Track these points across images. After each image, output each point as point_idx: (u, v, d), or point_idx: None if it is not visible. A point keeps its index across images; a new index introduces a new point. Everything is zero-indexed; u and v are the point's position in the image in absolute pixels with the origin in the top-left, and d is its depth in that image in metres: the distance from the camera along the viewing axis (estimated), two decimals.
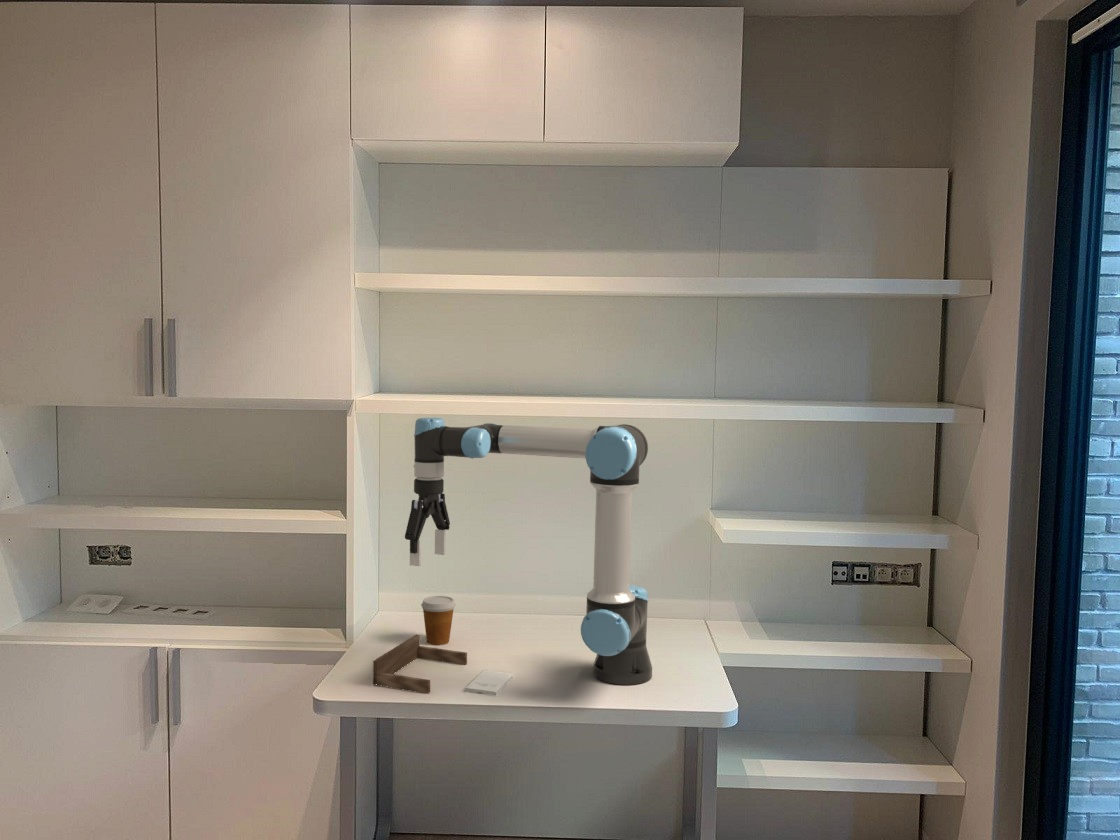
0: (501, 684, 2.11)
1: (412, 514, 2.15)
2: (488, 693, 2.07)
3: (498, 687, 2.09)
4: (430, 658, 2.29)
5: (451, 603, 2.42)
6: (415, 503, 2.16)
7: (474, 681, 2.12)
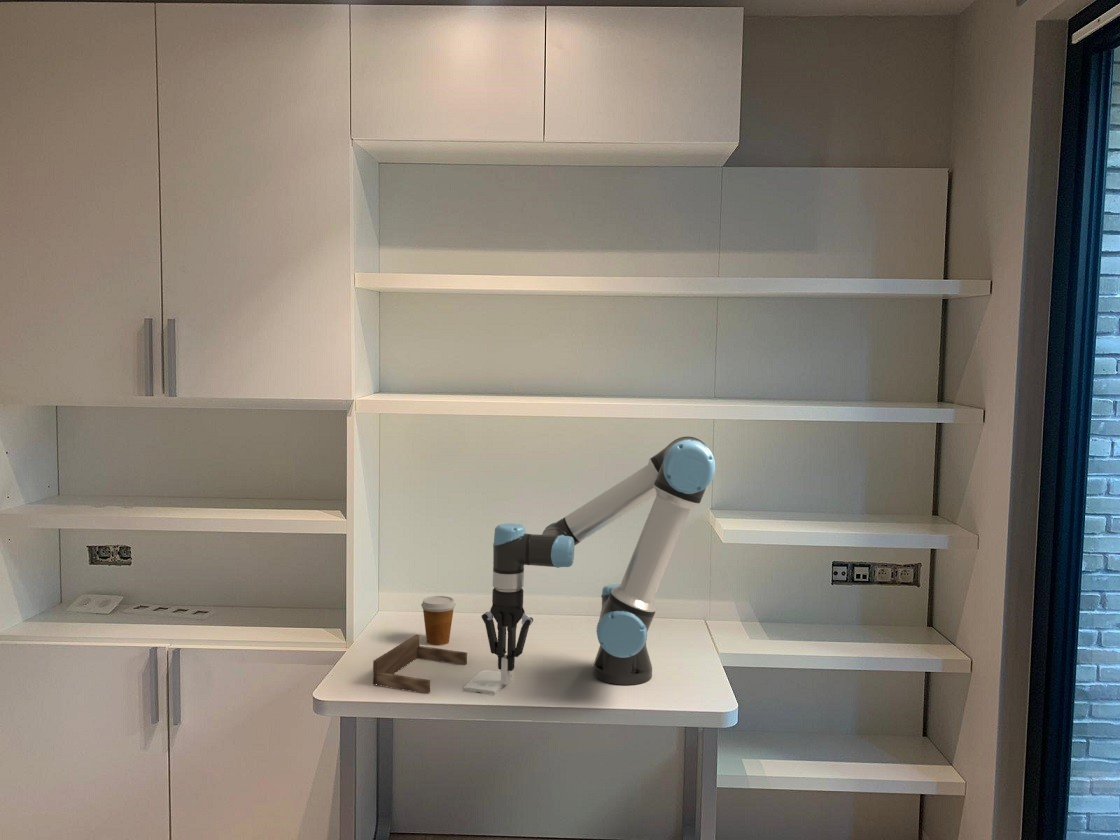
0: (499, 683, 2.11)
1: None
2: (486, 692, 2.07)
3: (496, 686, 2.09)
4: (430, 658, 2.29)
5: (451, 603, 2.42)
6: None
7: (472, 680, 2.13)
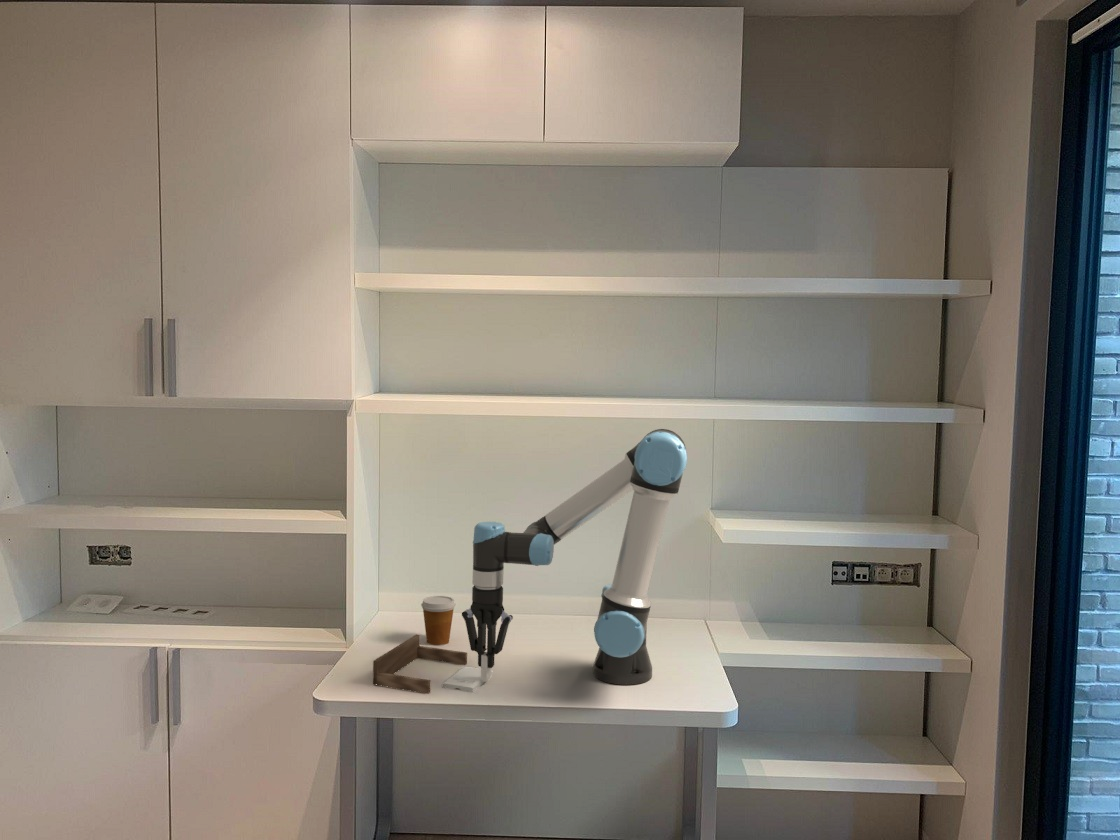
0: (479, 680, 2.13)
1: None
2: (465, 689, 2.09)
3: (475, 683, 2.11)
4: (430, 658, 2.29)
5: (451, 603, 2.42)
6: None
7: (453, 677, 2.14)
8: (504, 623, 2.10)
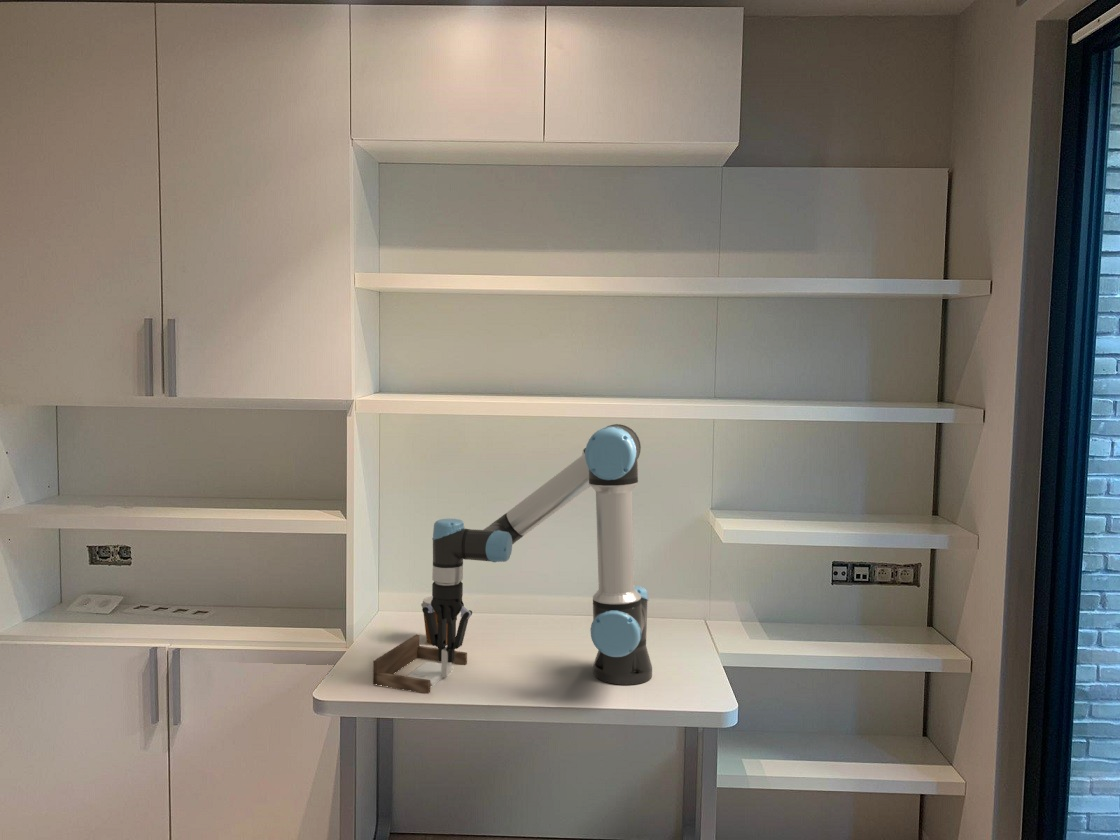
0: (439, 675, 2.16)
1: None
2: None
3: (435, 678, 2.14)
4: (430, 658, 2.29)
5: None
6: None
7: (413, 672, 2.17)
8: (463, 618, 2.13)
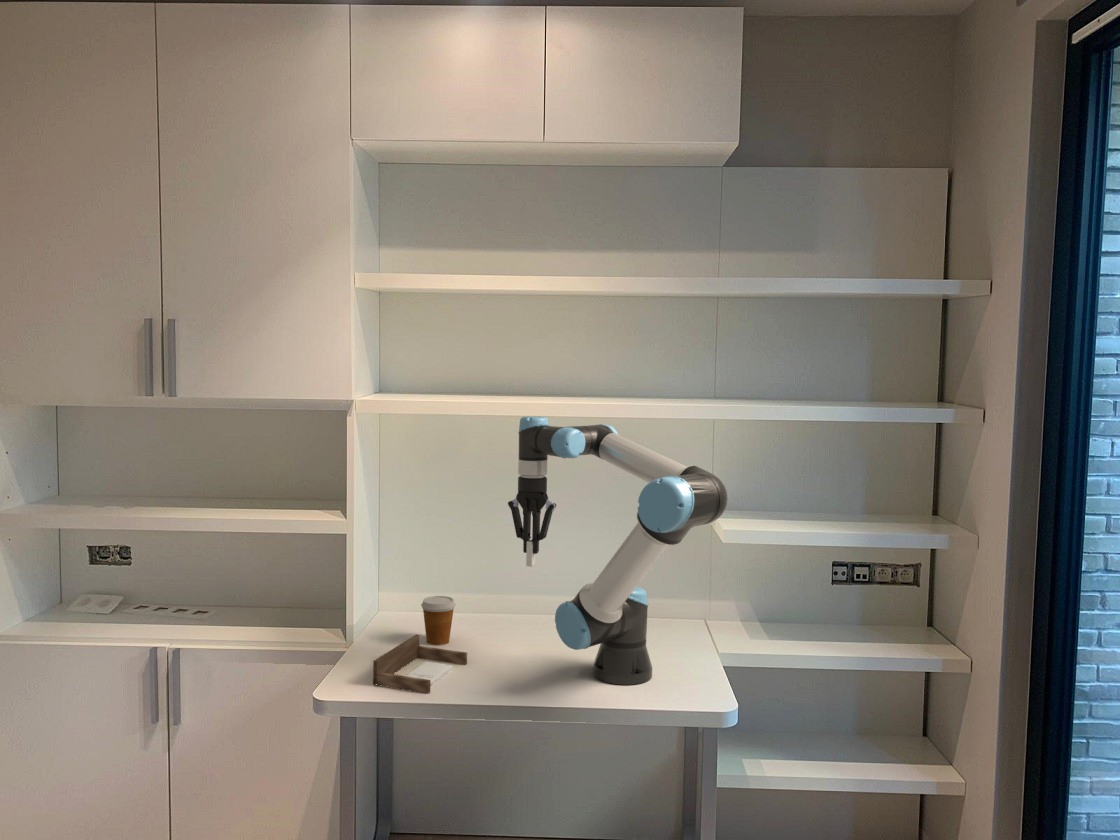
0: (438, 675, 2.16)
1: None
2: None
3: (434, 678, 2.14)
4: (430, 658, 2.29)
5: (451, 603, 2.42)
6: None
7: (412, 672, 2.18)
8: (548, 510, 2.23)
